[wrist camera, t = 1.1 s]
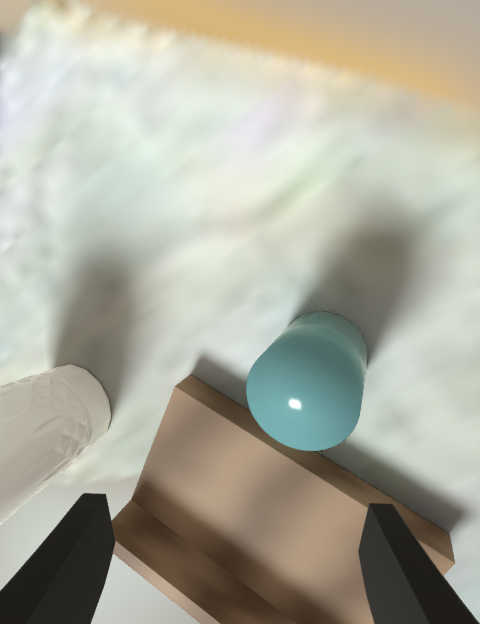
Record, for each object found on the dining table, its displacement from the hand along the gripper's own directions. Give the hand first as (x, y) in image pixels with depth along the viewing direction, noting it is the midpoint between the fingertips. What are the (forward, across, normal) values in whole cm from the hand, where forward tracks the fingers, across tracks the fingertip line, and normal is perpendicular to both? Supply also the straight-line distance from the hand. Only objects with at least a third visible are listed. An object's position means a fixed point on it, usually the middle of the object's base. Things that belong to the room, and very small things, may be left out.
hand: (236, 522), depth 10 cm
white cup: (+17, +13, +10) cm, 24 cm away
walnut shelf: (+10, -2, +13) cm, 17 cm away
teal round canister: (+12, -5, +2) cm, 13 cm away
